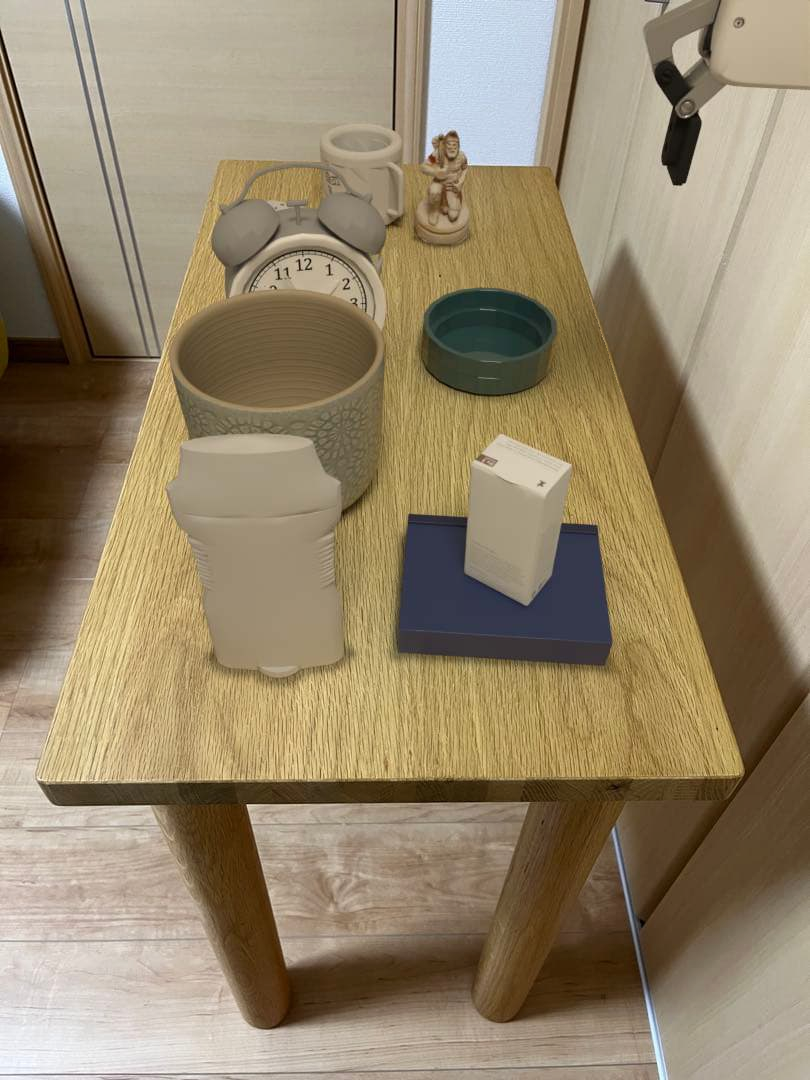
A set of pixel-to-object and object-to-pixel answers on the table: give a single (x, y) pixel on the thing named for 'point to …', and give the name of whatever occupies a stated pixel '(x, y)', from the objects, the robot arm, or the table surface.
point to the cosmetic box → (514, 517)
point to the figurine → (444, 194)
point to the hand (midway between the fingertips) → (751, 180)
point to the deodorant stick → (263, 548)
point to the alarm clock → (304, 245)
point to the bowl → (488, 340)
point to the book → (502, 600)
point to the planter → (287, 376)
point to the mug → (365, 165)
